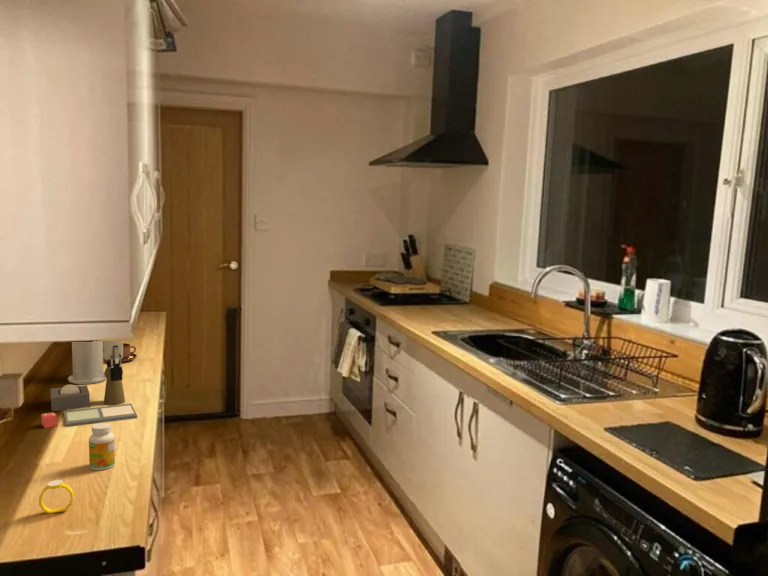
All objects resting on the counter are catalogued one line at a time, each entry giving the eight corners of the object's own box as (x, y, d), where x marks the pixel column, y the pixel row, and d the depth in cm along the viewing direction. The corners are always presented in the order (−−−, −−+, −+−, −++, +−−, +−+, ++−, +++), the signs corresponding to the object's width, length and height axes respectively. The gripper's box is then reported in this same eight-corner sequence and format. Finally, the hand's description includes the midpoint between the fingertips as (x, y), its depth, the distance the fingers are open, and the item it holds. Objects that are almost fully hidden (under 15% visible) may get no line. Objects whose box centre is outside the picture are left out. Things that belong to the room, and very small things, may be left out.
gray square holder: (50, 401, 194) (50, 388, 193) (87, 397, 199) (86, 385, 198) (51, 411, 185) (51, 397, 185) (89, 406, 190) (89, 393, 189)
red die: (41, 425, 173) (41, 414, 173) (53, 422, 175) (53, 411, 175) (45, 428, 171) (44, 416, 171) (57, 425, 173) (56, 414, 173)
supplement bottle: (84, 469, 146) (83, 428, 144) (98, 460, 151) (97, 420, 150) (106, 471, 145) (105, 430, 143) (119, 462, 150) (118, 422, 149)
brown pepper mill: (117, 406, 191) (116, 370, 190) (99, 404, 193) (98, 368, 191) (129, 400, 197) (128, 365, 196) (111, 398, 198) (110, 363, 197)
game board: (64, 413, 183) (64, 410, 183) (131, 406, 192) (131, 403, 192) (66, 426, 173) (66, 423, 172) (137, 417, 181) (137, 414, 181)
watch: (75, 506, 128) (74, 478, 127) (73, 512, 125) (72, 483, 125) (41, 510, 126) (40, 481, 125) (38, 516, 123) (37, 487, 123)
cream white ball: (59, 400, 193) (59, 383, 192) (79, 398, 195) (78, 381, 195) (60, 405, 188) (59, 388, 187) (80, 403, 191) (80, 386, 190)
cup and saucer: (121, 356, 254) (121, 340, 254) (143, 359, 249) (143, 344, 248) (96, 362, 244) (95, 346, 243) (118, 366, 238) (118, 350, 238)
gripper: (96, 318, 197) (98, 372, 199) (102, 326, 182) (104, 384, 184) (122, 316, 201) (124, 370, 203) (130, 324, 186) (131, 381, 188)
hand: (114, 377), depth 193 cm, fingers open, 9 cm apart
